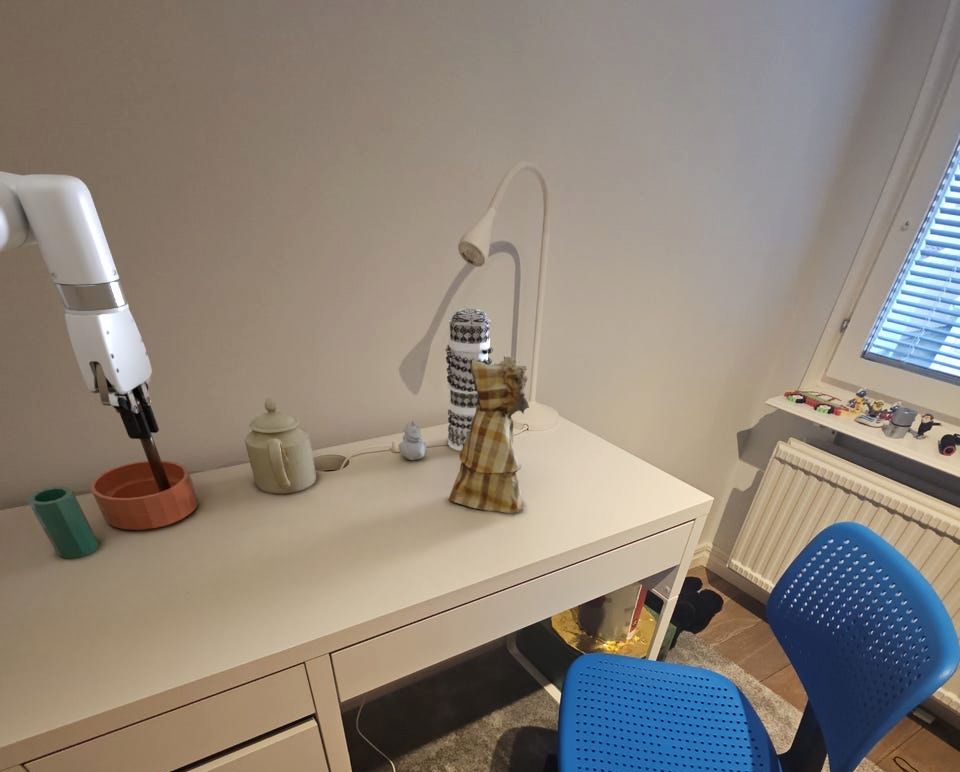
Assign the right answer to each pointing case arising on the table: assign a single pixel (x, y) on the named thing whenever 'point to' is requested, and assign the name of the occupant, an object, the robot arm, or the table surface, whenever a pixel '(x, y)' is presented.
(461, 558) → the table surface
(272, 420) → the sugar bowl
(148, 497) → the mixing bowl
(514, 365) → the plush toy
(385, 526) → the table surface
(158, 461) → the stirring stick
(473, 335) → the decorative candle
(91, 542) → the stick holder
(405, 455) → the grey figurine
